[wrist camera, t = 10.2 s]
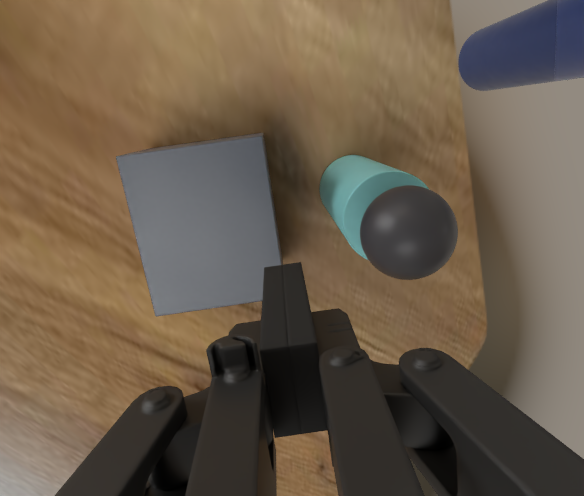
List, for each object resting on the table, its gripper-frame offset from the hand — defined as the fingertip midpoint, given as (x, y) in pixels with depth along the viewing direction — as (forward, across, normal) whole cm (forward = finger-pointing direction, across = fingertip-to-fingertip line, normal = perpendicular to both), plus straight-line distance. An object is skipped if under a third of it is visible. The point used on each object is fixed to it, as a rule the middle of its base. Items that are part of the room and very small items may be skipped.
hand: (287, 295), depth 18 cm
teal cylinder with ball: (+23, +3, 0) cm, 23 cm away
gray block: (+23, -6, 0) cm, 23 cm away
